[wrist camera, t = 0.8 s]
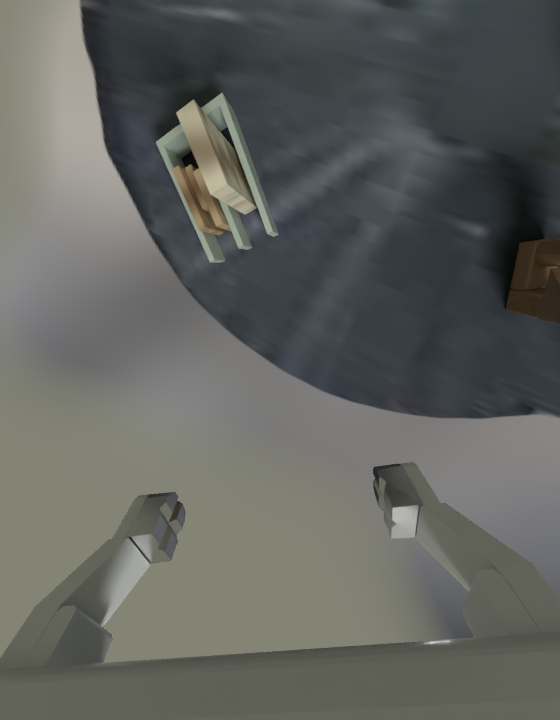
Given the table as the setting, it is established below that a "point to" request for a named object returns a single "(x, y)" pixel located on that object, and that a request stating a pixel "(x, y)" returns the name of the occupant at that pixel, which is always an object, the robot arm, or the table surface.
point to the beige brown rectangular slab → (216, 159)
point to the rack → (178, 147)
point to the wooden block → (537, 280)
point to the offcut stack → (201, 200)
